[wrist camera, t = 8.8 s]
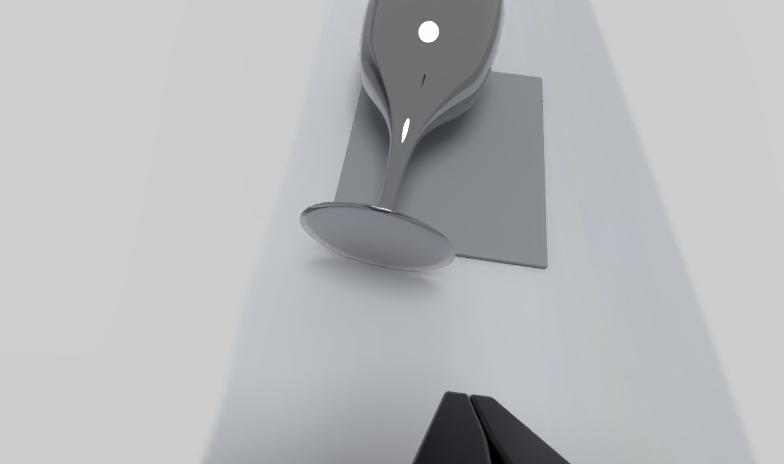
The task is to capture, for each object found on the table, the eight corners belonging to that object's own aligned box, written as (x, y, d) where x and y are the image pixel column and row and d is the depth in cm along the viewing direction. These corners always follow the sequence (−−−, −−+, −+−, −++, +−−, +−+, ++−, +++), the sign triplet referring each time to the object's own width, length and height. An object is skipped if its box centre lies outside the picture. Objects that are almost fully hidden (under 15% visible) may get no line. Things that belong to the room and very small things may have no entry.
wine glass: (476, 219, 14) (519, -53, 19) (263, 182, 15) (363, -64, 20) (456, 283, 21) (492, 72, 27) (315, 255, 22) (378, 59, 28)
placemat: (545, 268, 21) (547, 266, 21) (326, 237, 22) (326, 234, 22) (540, 81, 27) (541, 78, 27) (369, 59, 28) (369, 55, 28)
